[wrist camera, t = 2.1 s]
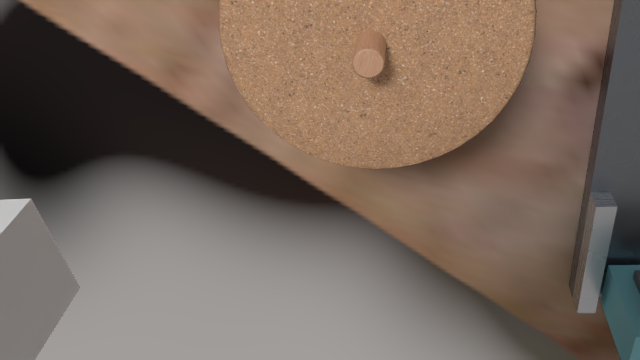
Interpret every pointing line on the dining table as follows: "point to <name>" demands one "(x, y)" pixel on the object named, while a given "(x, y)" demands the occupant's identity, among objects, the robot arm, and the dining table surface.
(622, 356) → the block
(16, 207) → the robot arm
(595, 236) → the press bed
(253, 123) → the dining table surface
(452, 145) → the lidded jar
